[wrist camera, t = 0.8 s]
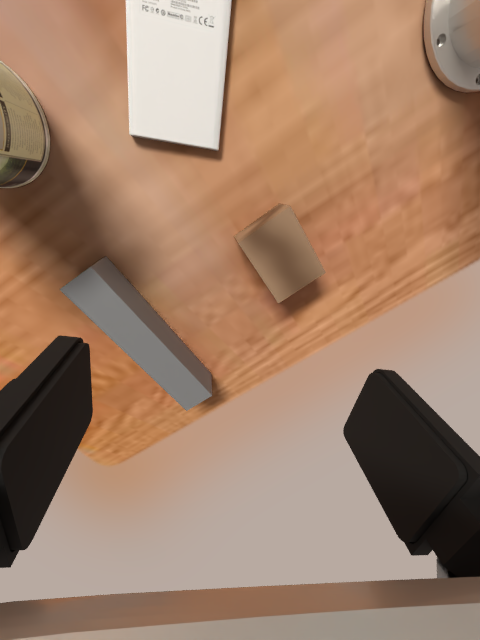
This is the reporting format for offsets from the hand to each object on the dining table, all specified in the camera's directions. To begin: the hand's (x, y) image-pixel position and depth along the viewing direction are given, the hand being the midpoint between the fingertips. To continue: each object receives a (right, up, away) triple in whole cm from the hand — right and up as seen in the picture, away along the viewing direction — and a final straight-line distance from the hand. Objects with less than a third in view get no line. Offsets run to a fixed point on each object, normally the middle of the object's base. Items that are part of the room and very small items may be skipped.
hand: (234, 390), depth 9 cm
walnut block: (+4, +11, +23) cm, 26 cm away
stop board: (-11, +1, +25) cm, 28 cm away
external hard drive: (-5, +25, +15) cm, 30 cm away
